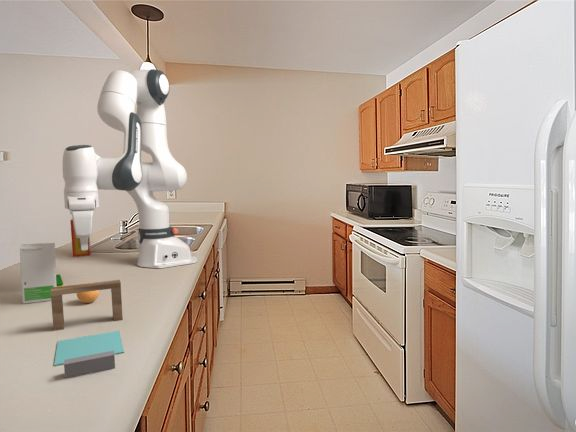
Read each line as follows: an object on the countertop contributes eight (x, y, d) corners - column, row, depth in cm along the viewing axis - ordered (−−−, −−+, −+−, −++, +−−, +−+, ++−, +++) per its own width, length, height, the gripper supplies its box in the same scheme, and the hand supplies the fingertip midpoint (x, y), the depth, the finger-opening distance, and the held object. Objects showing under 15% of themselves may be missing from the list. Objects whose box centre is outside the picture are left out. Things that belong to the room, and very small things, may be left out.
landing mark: (119, 331, 91) (119, 330, 90) (124, 352, 80) (123, 351, 80) (57, 341, 85) (57, 340, 85) (54, 366, 75) (54, 365, 75)
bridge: (54, 326, 94) (51, 287, 93) (121, 315, 100) (119, 279, 99) (53, 330, 91) (50, 290, 90) (122, 319, 98) (120, 282, 97)
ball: (99, 298, 115) (98, 279, 114) (99, 303, 110) (98, 283, 109) (77, 301, 112) (76, 281, 112) (77, 306, 107) (75, 286, 107)
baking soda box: (89, 255, 174) (87, 218, 172) (72, 257, 171) (70, 219, 169) (90, 251, 182) (88, 216, 181) (74, 252, 180) (71, 217, 178)
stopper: (114, 363, 75) (113, 350, 75) (115, 367, 74) (114, 354, 73) (65, 373, 72) (64, 359, 72) (65, 378, 70) (64, 364, 70)
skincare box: (22, 304, 110) (17, 248, 108) (24, 297, 116) (20, 244, 114) (57, 299, 114) (53, 245, 112) (58, 293, 119) (54, 241, 118)
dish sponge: (36, 295, 120) (35, 287, 120) (35, 284, 131) (34, 277, 131) (63, 291, 124) (63, 283, 123) (60, 281, 135) (60, 273, 135)
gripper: (70, 200, 124) (73, 245, 125) (68, 204, 106) (71, 256, 107) (93, 199, 127) (95, 243, 128) (95, 203, 108) (97, 254, 110)
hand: (84, 249), depth 117 cm, fingers closed
